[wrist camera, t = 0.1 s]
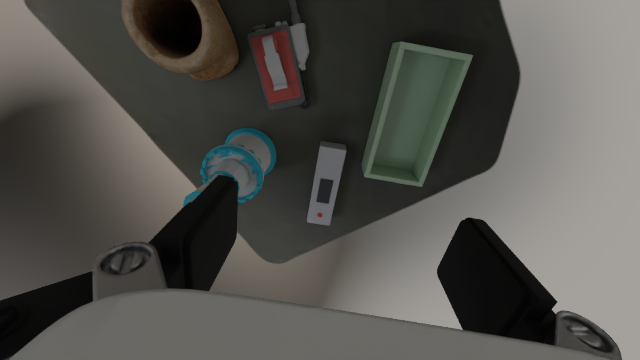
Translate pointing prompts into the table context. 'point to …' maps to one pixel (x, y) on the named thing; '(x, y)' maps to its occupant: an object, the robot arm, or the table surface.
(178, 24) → the brown flared hollow piece
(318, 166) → the remote
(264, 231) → the table surface
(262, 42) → the walkie-talkie
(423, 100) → the tray
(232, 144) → the model tower
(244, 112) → the table surface
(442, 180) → the table surface
